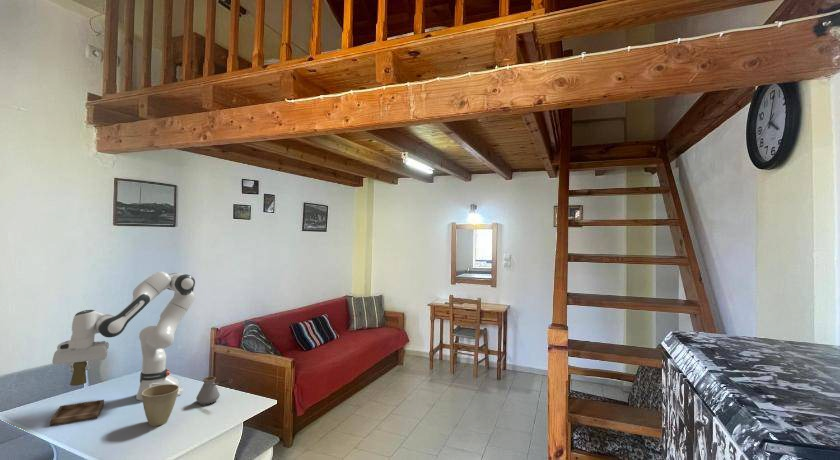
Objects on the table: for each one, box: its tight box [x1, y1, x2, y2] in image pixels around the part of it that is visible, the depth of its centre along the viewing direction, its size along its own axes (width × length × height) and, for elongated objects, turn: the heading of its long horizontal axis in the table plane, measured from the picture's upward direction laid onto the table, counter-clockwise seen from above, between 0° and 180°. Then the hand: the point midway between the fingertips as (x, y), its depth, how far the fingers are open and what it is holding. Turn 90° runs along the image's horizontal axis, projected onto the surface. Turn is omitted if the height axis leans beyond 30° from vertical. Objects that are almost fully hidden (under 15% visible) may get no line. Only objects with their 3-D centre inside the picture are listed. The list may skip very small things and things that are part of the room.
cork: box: [69, 361, 88, 387], centre depth 180 cm, size 6×6×11 cm
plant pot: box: [142, 384, 180, 427], centre depth 177 cm, size 15×15×16 cm
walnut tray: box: [49, 399, 105, 427], centre depth 181 cm, size 17×17×3 cm
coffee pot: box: [195, 376, 232, 406], centre depth 201 cm, size 21×12×15 cm, turn 72°
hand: (79, 370), depth 180 cm, fingers closed on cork, 4 cm apart
